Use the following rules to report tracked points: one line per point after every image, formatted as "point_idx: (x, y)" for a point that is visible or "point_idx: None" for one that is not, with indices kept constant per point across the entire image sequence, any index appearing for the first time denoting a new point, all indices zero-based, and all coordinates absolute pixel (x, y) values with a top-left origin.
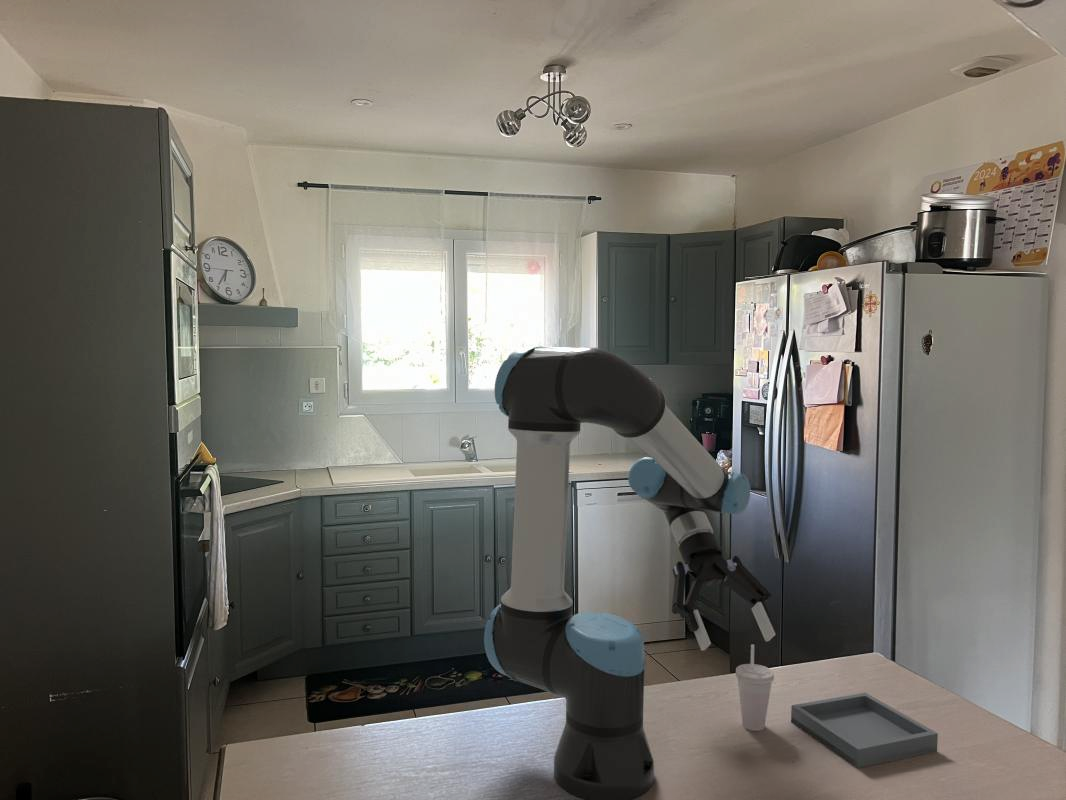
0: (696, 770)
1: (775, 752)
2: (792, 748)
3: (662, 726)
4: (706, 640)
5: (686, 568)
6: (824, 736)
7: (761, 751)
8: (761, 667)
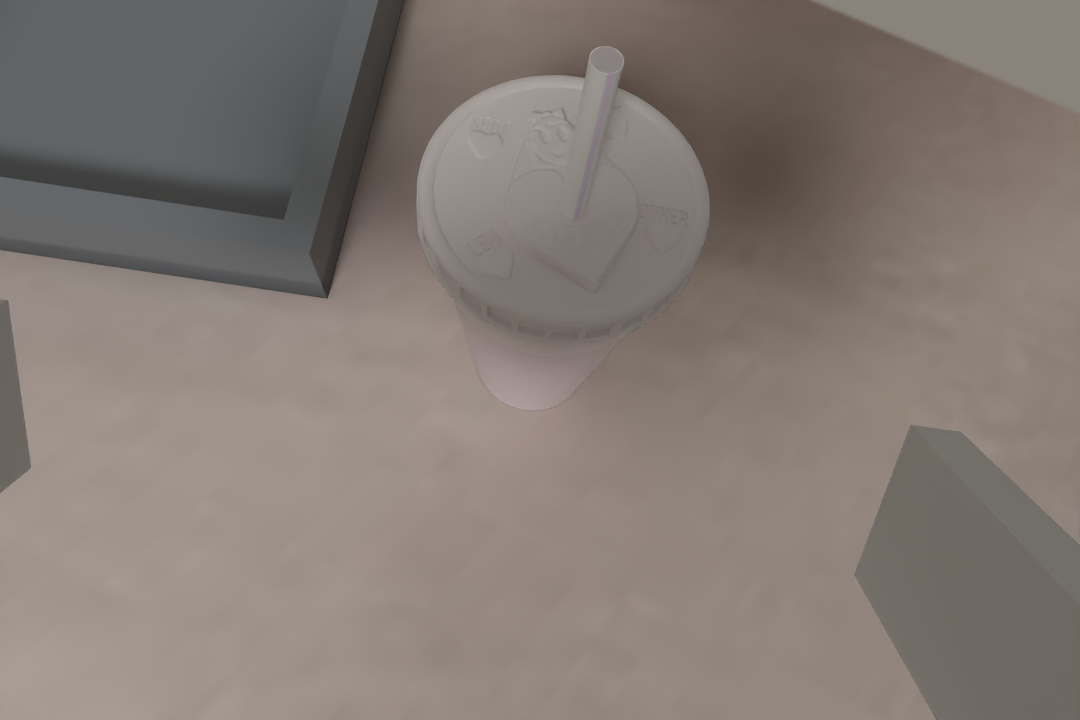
0: (998, 195)
1: None
2: None
3: None
4: (979, 453)
5: None
6: (374, 68)
7: None
8: (457, 220)
